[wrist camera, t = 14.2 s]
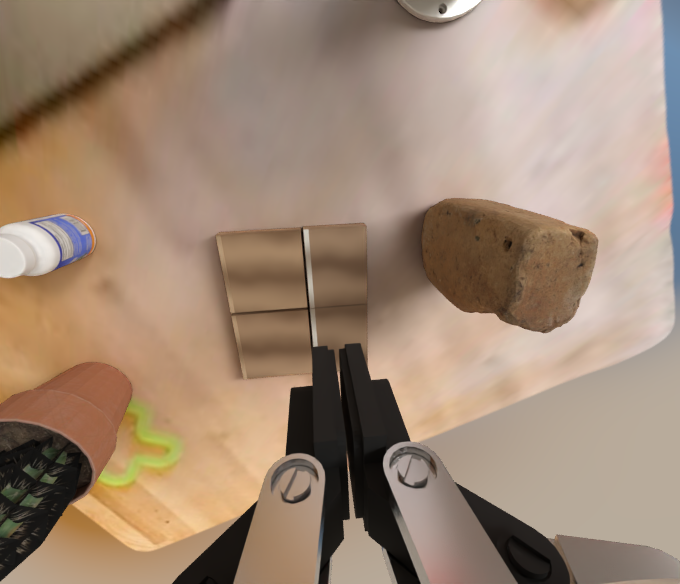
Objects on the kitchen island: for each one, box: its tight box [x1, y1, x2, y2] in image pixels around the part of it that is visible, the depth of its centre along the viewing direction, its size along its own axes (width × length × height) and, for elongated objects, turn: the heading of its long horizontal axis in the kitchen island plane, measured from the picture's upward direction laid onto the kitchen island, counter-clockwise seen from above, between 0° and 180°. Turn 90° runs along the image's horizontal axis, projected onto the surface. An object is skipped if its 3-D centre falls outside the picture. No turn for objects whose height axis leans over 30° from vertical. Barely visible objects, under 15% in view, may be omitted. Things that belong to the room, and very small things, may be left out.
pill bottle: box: [0, 214, 96, 278], centre depth 33 cm, size 5×5×10 cm
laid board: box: [303, 223, 368, 371], centre depth 43 cm, size 21×8×2 cm, turn 2°
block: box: [421, 198, 598, 333], centre depth 33 cm, size 11×8×20 cm
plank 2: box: [231, 304, 312, 379], centre depth 44 cm, size 10×10×2 cm
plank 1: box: [216, 228, 307, 313], centre depth 40 cm, size 10×10×2 cm
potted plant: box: [0, 362, 132, 581], centre depth 34 cm, size 14×14×25 cm
